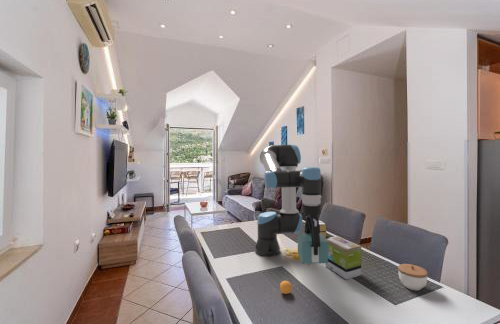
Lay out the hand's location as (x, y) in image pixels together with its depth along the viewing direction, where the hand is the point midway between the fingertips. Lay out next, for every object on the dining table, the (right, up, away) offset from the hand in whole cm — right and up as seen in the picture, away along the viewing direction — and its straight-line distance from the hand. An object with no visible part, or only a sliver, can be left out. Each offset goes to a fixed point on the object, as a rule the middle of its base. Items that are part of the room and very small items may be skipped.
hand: (312, 256), depth 101 cm
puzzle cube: (+22, -14, +70) cm, 74 cm away
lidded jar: (+45, -15, +4) cm, 48 cm away
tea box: (+20, -15, +19) cm, 32 cm away
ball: (-11, -13, 0) cm, 17 cm away
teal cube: (0, -1, 0) cm, 1 cm away
